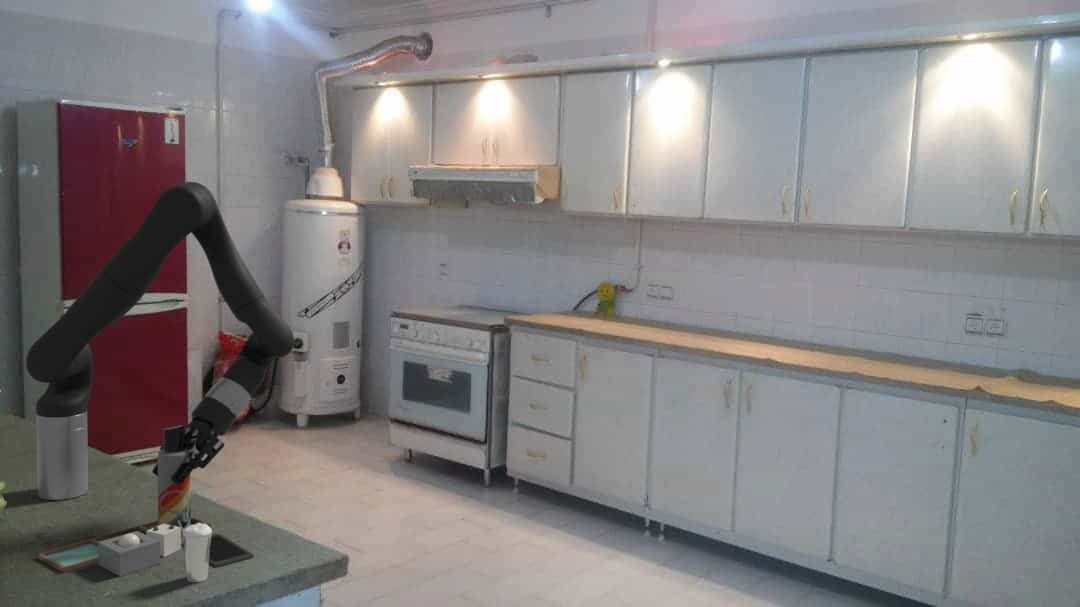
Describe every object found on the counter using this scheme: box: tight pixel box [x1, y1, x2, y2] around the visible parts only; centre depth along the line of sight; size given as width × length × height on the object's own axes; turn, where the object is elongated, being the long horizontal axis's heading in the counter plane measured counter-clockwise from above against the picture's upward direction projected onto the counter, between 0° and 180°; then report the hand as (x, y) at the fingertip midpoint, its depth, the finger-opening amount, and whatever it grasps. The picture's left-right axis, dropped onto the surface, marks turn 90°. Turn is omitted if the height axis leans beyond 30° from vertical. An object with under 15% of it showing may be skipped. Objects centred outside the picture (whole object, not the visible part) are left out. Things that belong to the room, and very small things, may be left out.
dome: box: [118, 533, 140, 548], centre depth 150 cm, size 3×3×5 cm
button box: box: [97, 531, 161, 577], centre depth 150 cm, size 7×7×4 cm
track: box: [37, 515, 212, 574], centre depth 160 cm, size 9×28×1 cm, turn 144°
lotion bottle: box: [157, 424, 191, 532], centre depth 166 cm, size 6×6×20 cm
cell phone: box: [181, 533, 255, 568], centre depth 158 cm, size 7×14×1 cm, turn 46°
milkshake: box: [178, 520, 213, 583], centre depth 146 cm, size 4×5×10 cm
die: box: [145, 524, 182, 558], centre depth 157 cm, size 4×4×5 cm
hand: (165, 478), depth 164 cm, fingers closed on lotion bottle, 5 cm apart
